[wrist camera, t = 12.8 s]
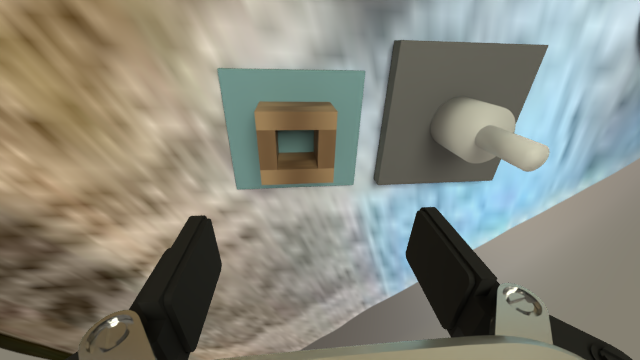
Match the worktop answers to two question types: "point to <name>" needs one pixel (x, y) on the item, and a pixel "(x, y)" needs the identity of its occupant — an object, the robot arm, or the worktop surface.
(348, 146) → the mat
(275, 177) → the walnut link
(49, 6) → the worktop surface
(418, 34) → the worktop surface
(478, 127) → the stand
